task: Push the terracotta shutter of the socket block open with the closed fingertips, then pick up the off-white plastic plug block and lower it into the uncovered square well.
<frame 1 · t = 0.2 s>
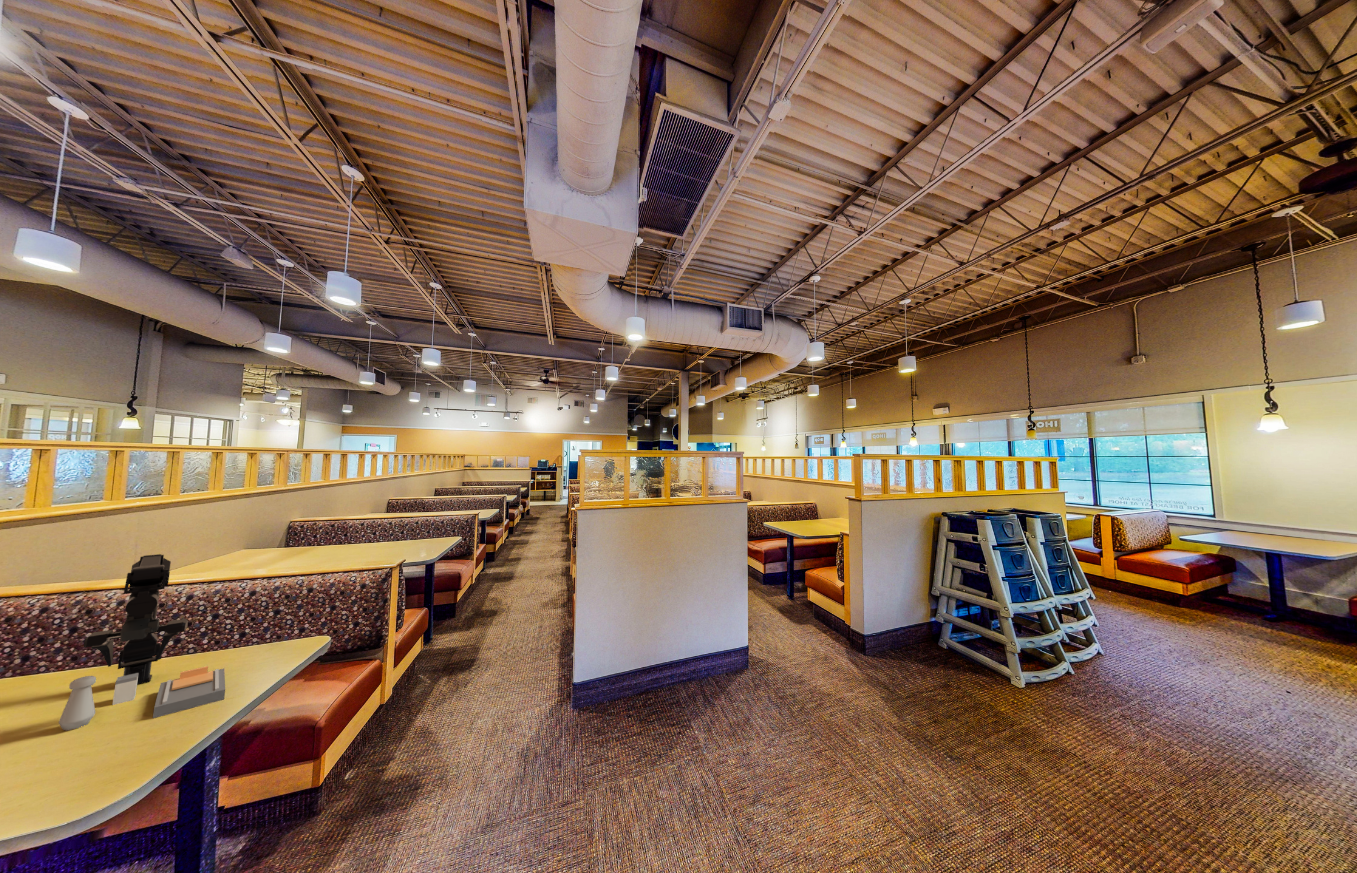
hand: (135, 661, 124), 14 cm above the table, fingers open, 9 cm apart
plug: (124, 700, 129), on the table
salt shaker: (76, 727, 115), on the table
socket block: (191, 691, 134), on the table
shutter: (193, 676, 135), point 5 cm above the table, slide at 0.0 cm
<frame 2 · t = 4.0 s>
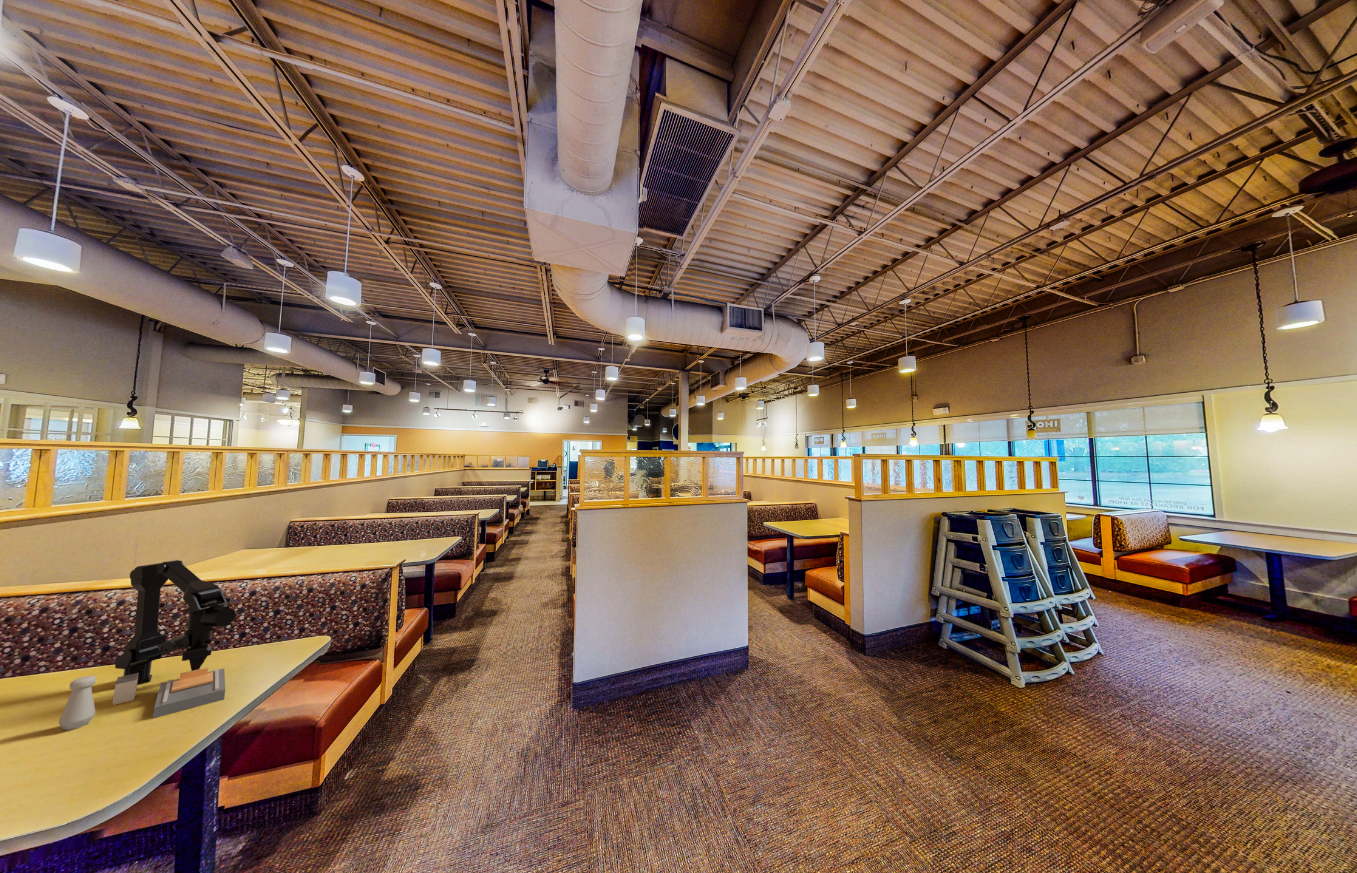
hand: (194, 673, 137), 5 cm above the table, fingers closed
shutter: (193, 678, 134), point 5 cm above the table, slide at 1.5 cm, touching gripper
everything else where it was.
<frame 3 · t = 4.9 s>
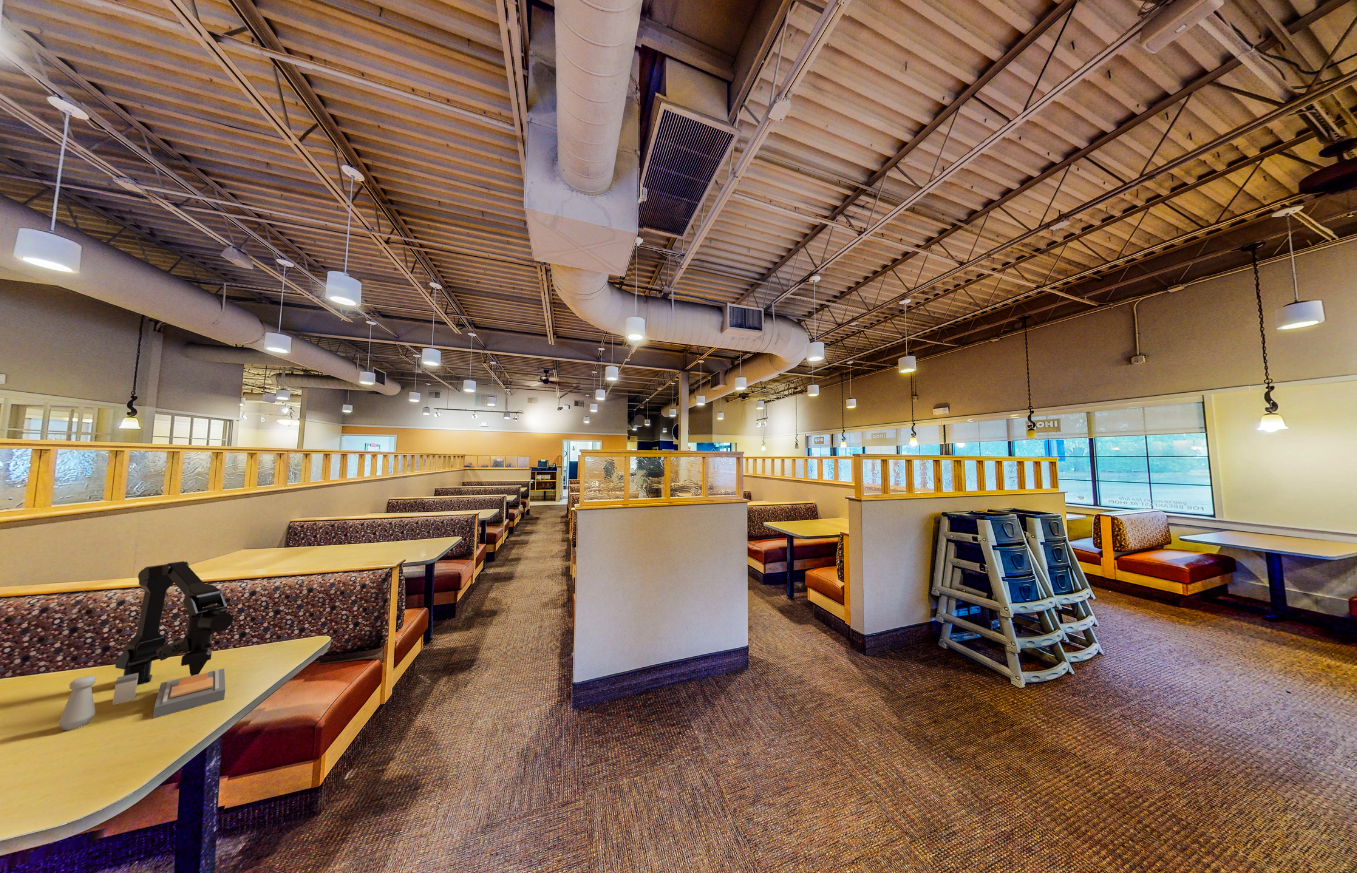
hand: (193, 678, 134), 5 cm above the table, fingers closed
shutter: (192, 683, 130), point 5 cm above the table, slide at 6.8 cm, touching gripper
everything else where it was.
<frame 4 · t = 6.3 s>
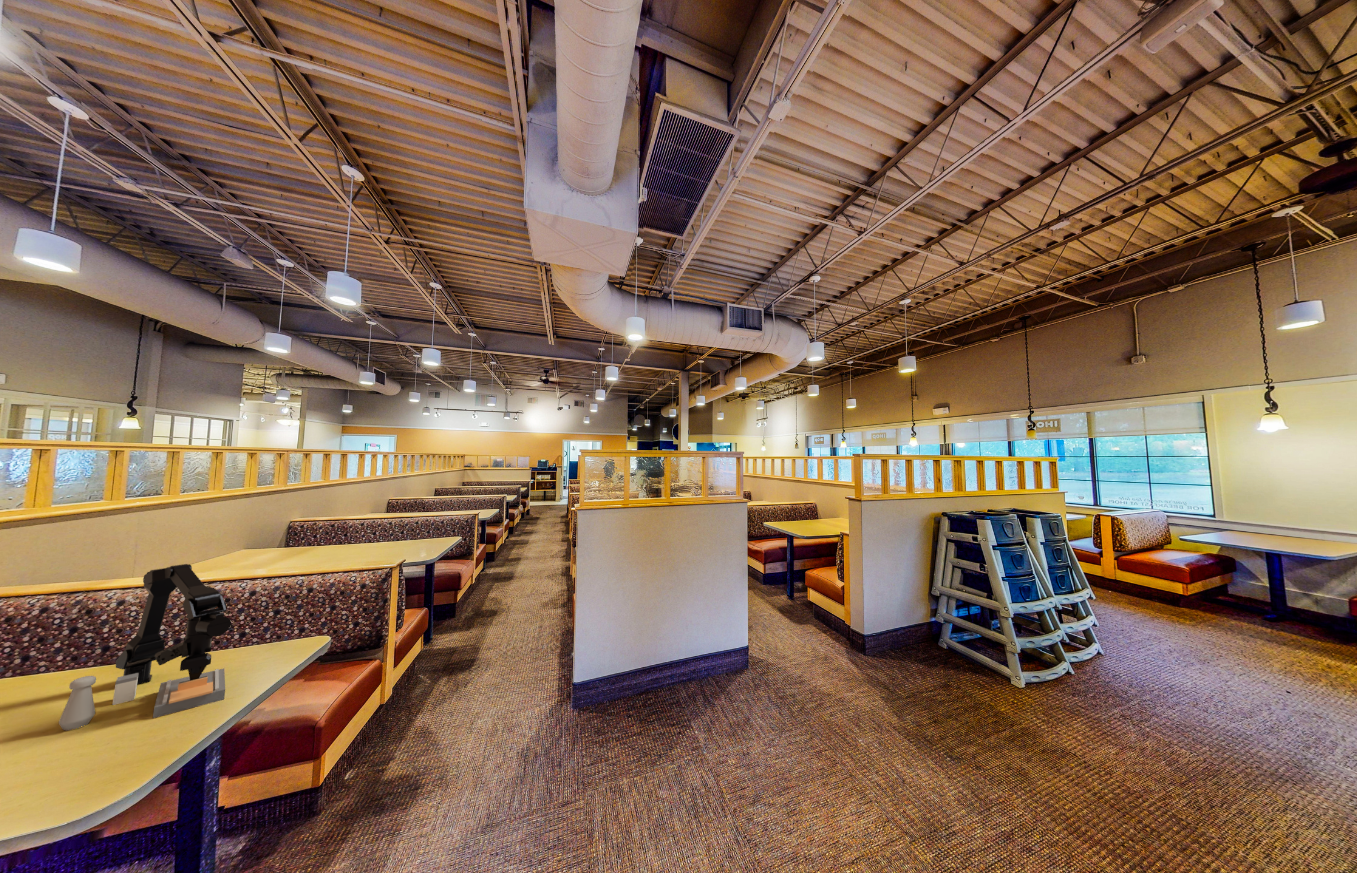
hand: (193, 683, 130), 5 cm above the table, fingers closed
shutter: (192, 688, 127), point 5 cm above the table, slide at 11.7 cm, touching gripper
everything else where it was.
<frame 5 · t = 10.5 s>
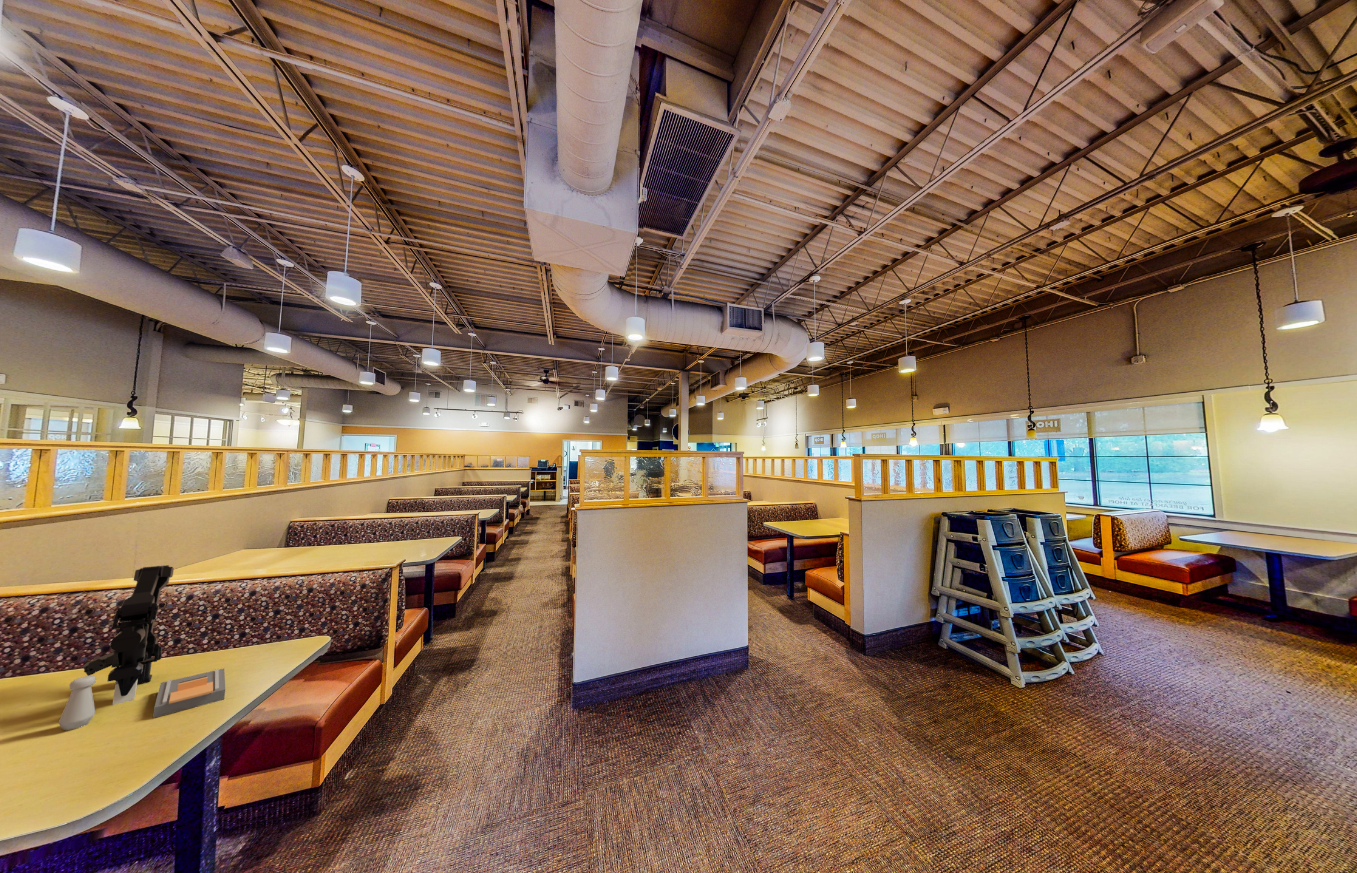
hand: (125, 693, 129), 2 cm above the table, fingers closed on plug, 4 cm apart
plug: (124, 700, 129), on the table, touching gripper
shutter: (192, 688, 127), point 5 cm above the table, slide at 11.7 cm
everything else where it was.
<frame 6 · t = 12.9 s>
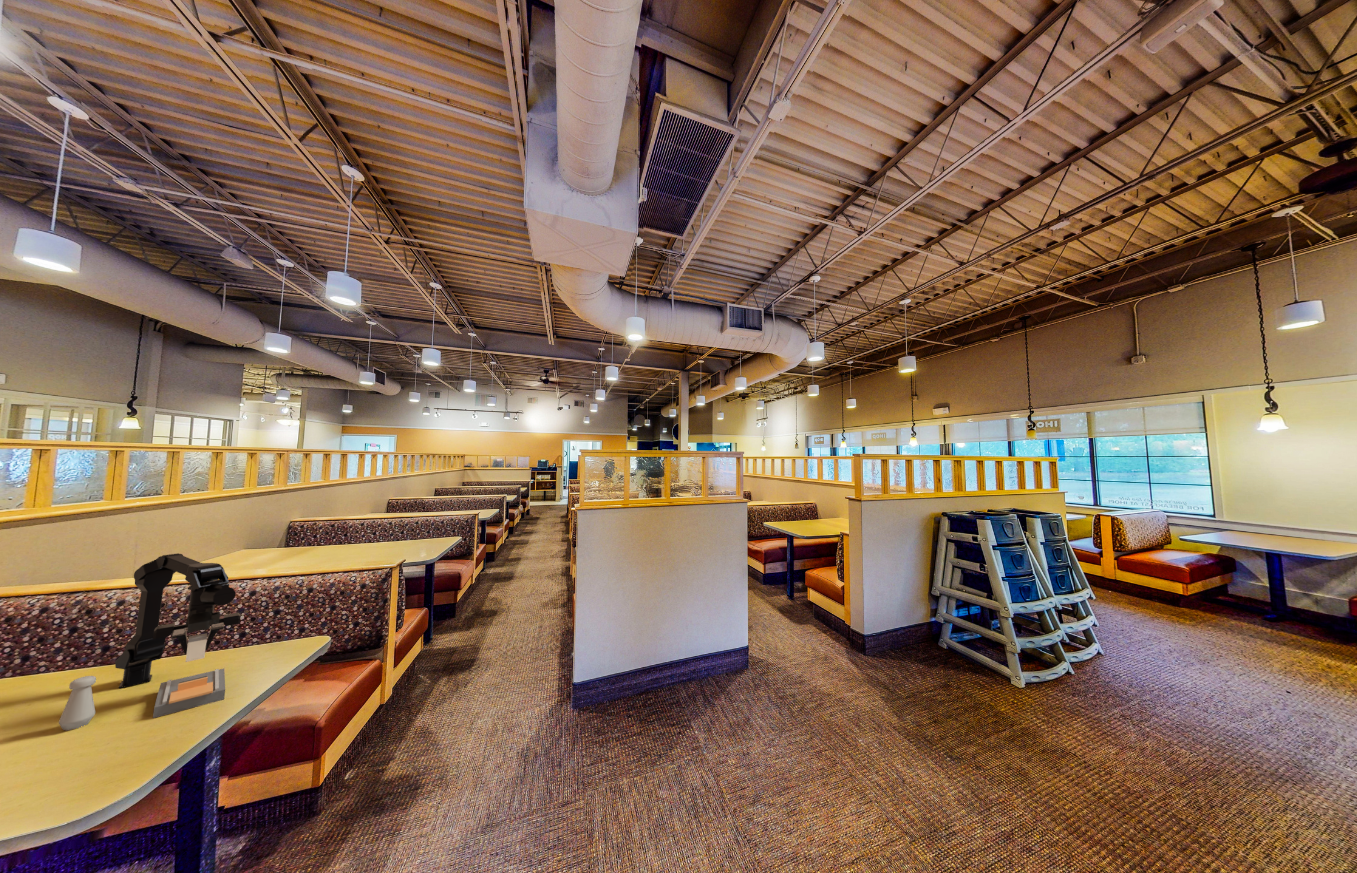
hand: (196, 651, 135), 13 cm above the table, fingers closed on plug, 4 cm apart
plug: (195, 658, 135), point 11 cm above the table, touching gripper
everything else where it was.
when the fingers open (3 cm above the table, at t = 15.3 s): plug drops 2 cm, resting in socket block.
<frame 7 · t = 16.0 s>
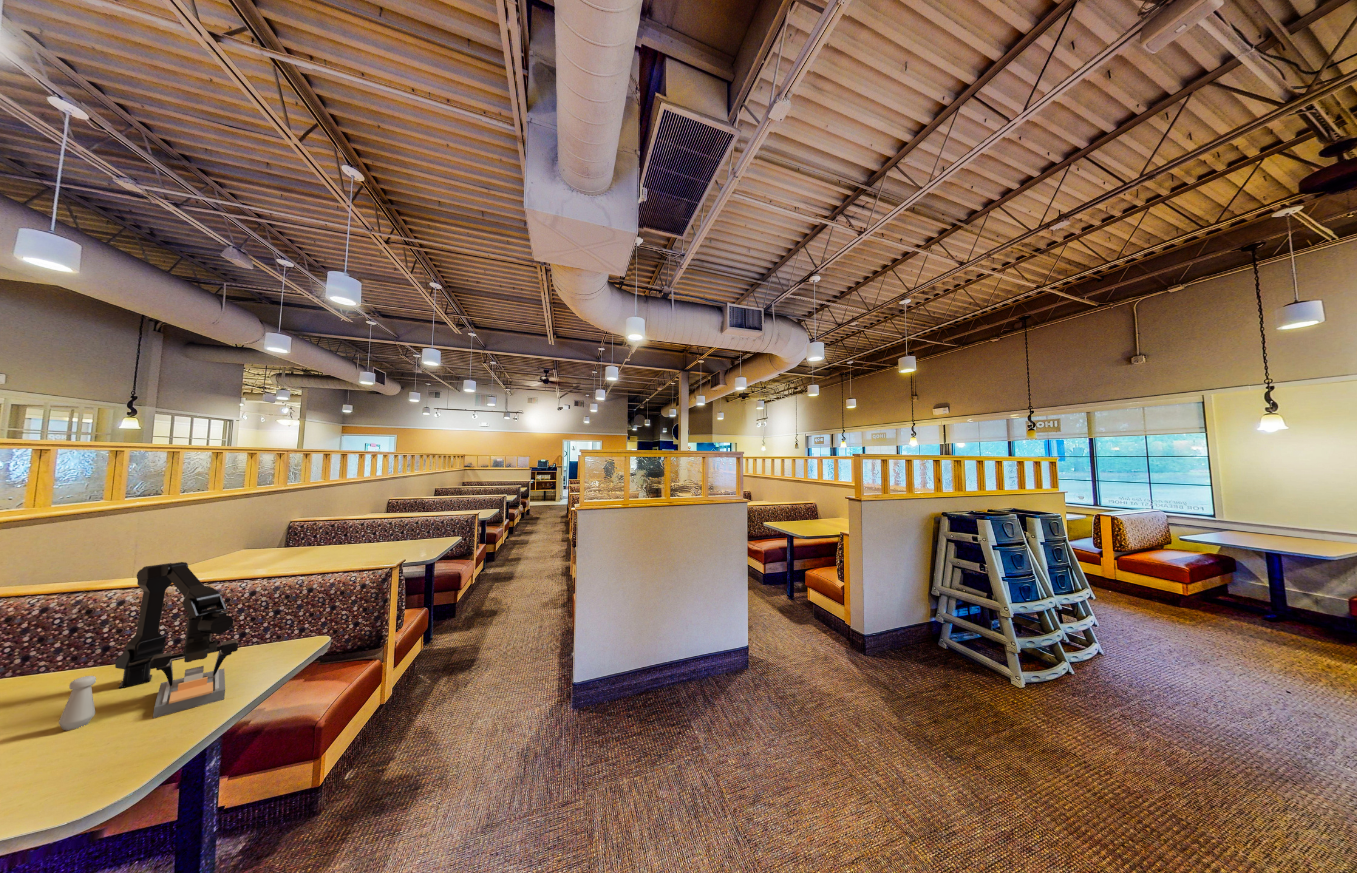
hand: (193, 680, 134), 4 cm above the table, fingers open, 9 cm apart
plug: (191, 691, 134), resting in socket block
everything else where it was.
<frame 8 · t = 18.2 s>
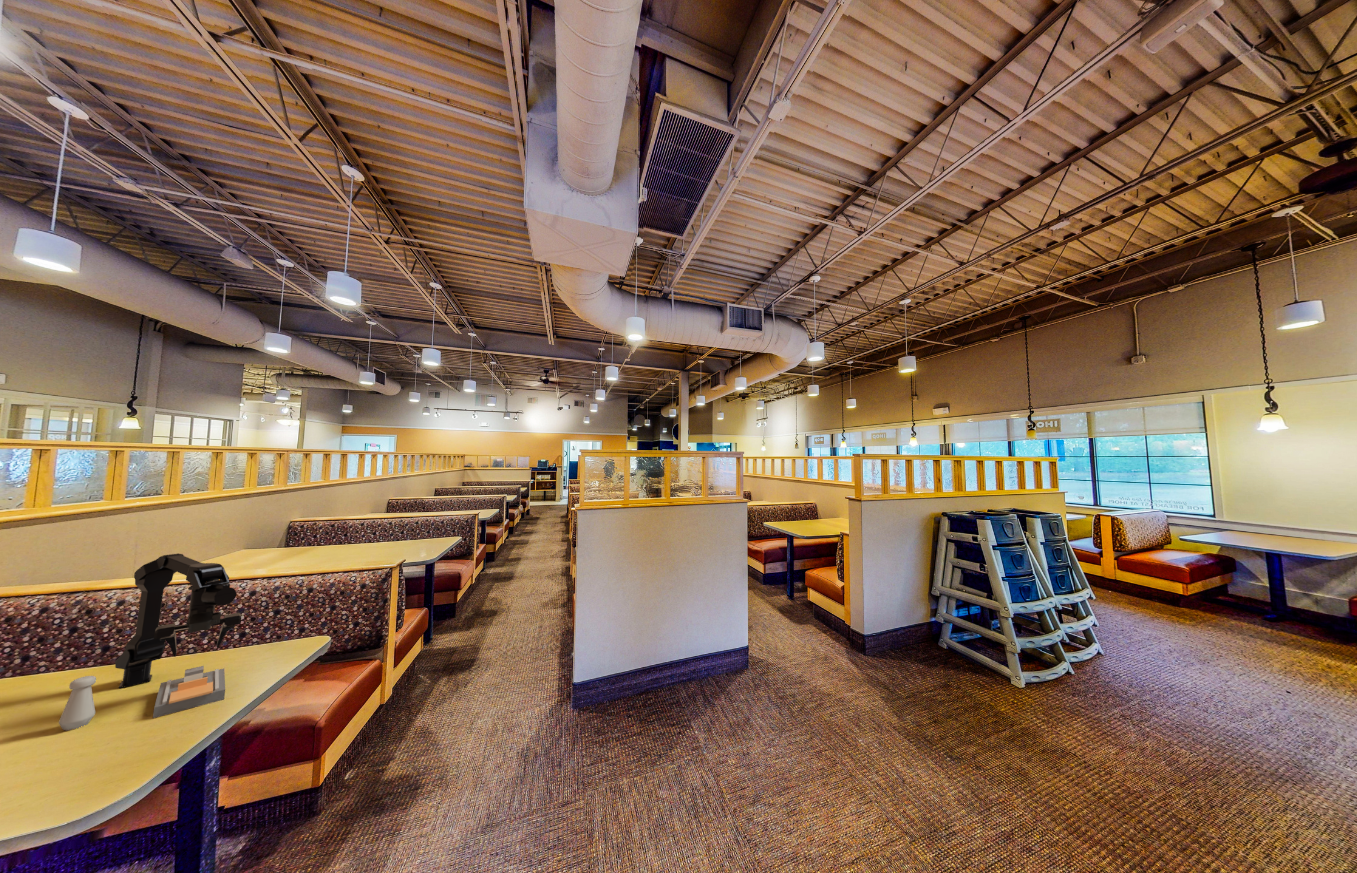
hand: (196, 651, 135), 12 cm above the table, fingers open, 9 cm apart
nothing on the table moved.
at the end: plug 0.0 cm off-centre on the socket block, point 0.0 cm above the socket block's base; plug tilted 0°; shutter slide at 11.7 cm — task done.
